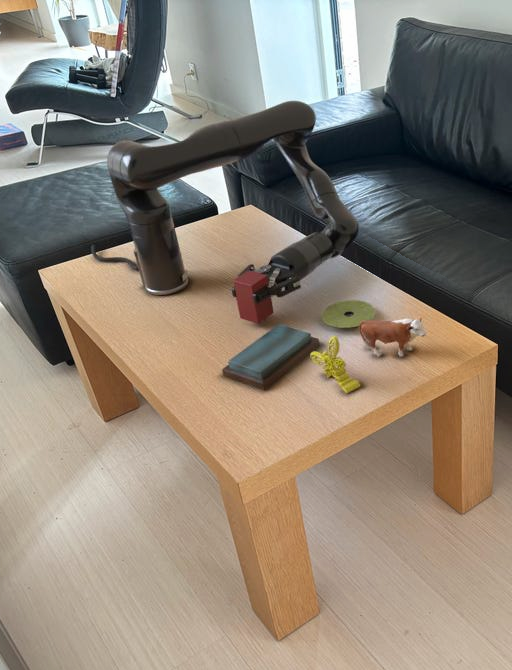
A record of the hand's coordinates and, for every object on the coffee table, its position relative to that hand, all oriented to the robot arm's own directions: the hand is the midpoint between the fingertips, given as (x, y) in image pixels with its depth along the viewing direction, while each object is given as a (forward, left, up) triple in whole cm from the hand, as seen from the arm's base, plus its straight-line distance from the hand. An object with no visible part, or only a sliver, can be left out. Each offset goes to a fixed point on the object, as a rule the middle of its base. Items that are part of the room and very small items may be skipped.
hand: (243, 296), depth 149 cm
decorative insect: (+26, -6, -8) cm, 28 cm away
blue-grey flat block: (+12, -7, -8) cm, 16 cm away
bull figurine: (+32, +6, -8) cm, 33 cm away
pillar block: (0, +3, -6) cm, 7 cm away
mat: (+17, +12, -8) cm, 22 cm away
